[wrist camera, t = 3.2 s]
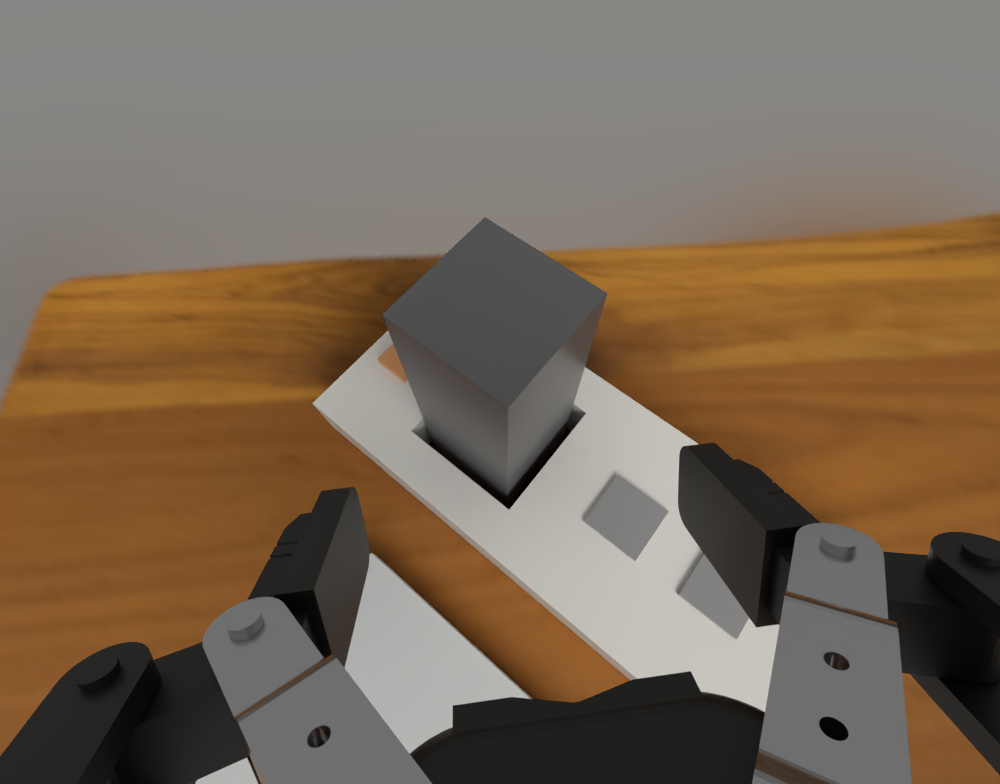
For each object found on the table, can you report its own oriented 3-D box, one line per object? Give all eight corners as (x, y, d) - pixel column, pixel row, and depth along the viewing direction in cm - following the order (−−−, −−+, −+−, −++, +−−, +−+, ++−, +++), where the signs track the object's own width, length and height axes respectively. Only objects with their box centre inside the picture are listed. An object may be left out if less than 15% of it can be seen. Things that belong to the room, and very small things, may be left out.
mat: (376, 555, 23) (371, 552, 22) (599, 760, 20) (604, 767, 19) (193, 766, 20) (178, 773, 19) (423, 1051, 17) (418, 1076, 16)
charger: (493, 386, 26) (484, 217, 15) (563, 437, 25) (607, 293, 14) (436, 450, 25) (381, 314, 14) (506, 507, 24) (508, 408, 13)
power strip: (452, 307, 28) (445, 268, 25) (876, 603, 22) (938, 600, 19) (333, 427, 25) (309, 399, 22) (780, 808, 19) (833, 843, 16)
